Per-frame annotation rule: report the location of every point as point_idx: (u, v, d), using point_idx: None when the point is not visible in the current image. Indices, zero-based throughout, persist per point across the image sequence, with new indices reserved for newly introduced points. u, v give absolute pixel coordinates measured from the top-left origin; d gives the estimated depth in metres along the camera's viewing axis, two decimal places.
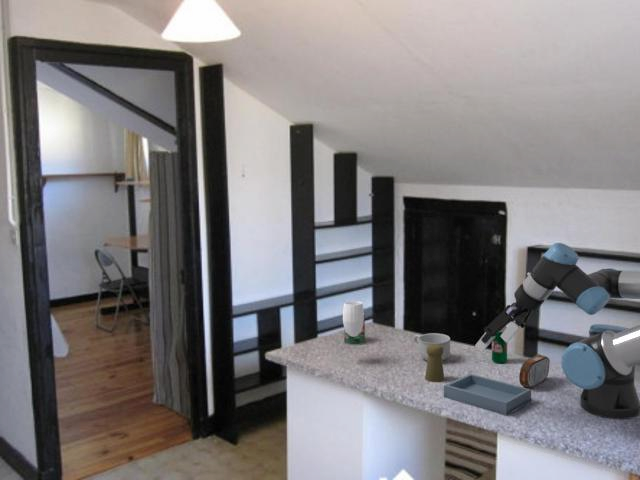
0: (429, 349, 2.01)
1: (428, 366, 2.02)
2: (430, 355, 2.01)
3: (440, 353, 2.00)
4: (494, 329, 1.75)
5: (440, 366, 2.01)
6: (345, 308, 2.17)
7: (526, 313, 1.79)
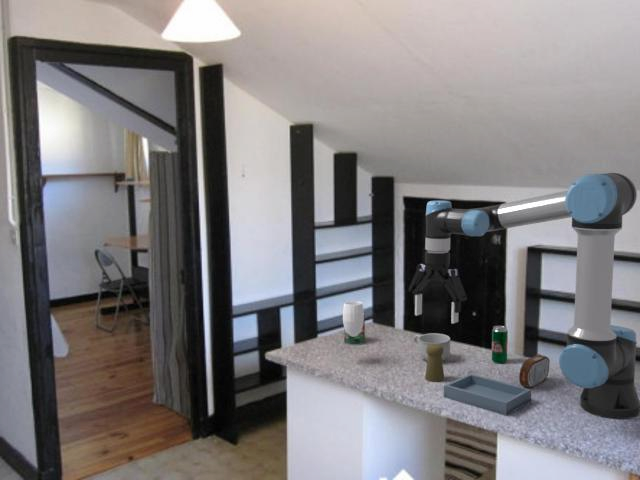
0: (429, 349, 2.01)
1: (428, 366, 2.02)
2: (430, 355, 2.01)
3: (440, 353, 2.00)
4: None
5: (440, 366, 2.01)
6: (345, 308, 2.17)
7: (436, 274, 1.97)
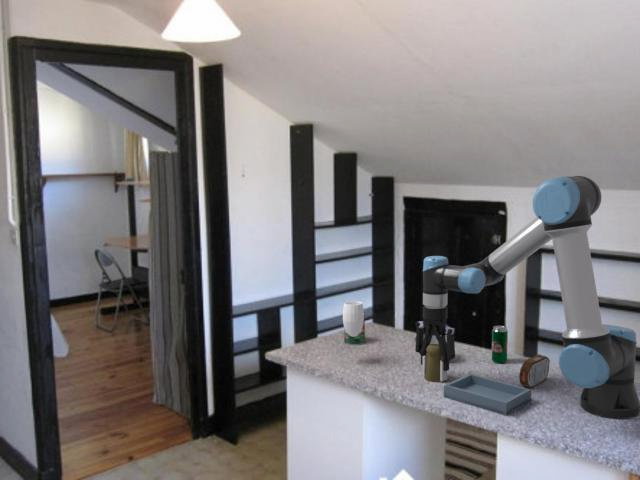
0: (429, 349, 2.01)
1: (428, 366, 2.02)
2: (430, 355, 2.01)
3: (440, 353, 2.00)
4: None
5: None
6: (345, 308, 2.17)
7: (433, 328, 1.99)
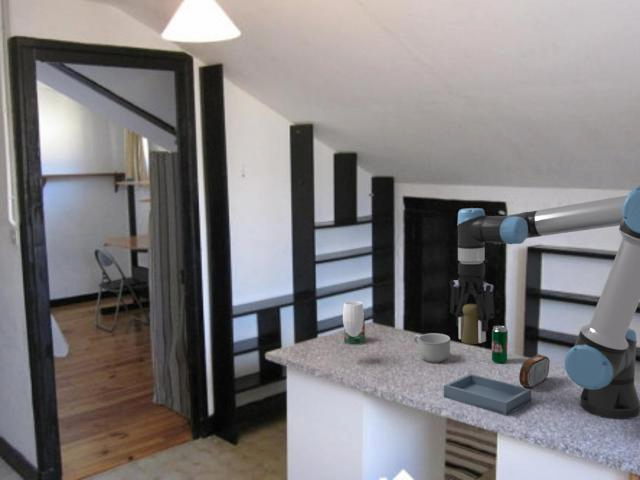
0: (466, 309, 1.86)
1: (465, 327, 1.88)
2: (467, 315, 1.87)
3: (478, 312, 1.86)
4: None
5: None
6: (345, 308, 2.17)
7: (470, 286, 1.85)
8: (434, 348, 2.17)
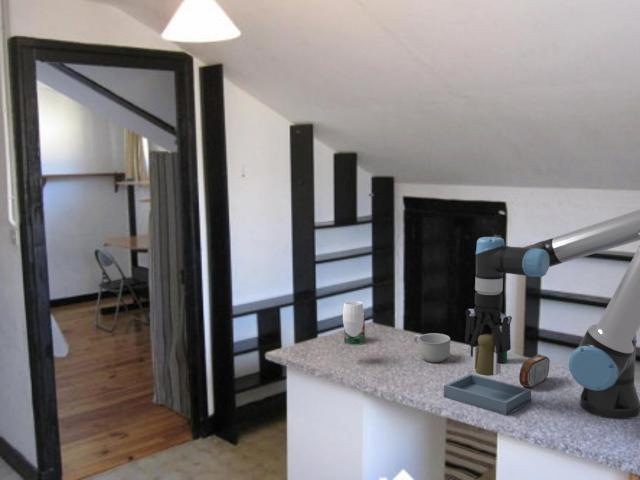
0: (482, 339, 1.82)
1: (480, 358, 1.83)
2: (482, 346, 1.82)
3: (493, 344, 1.82)
4: None
5: (493, 358, 1.82)
6: (345, 308, 2.17)
7: (487, 317, 1.81)
8: (434, 348, 2.17)
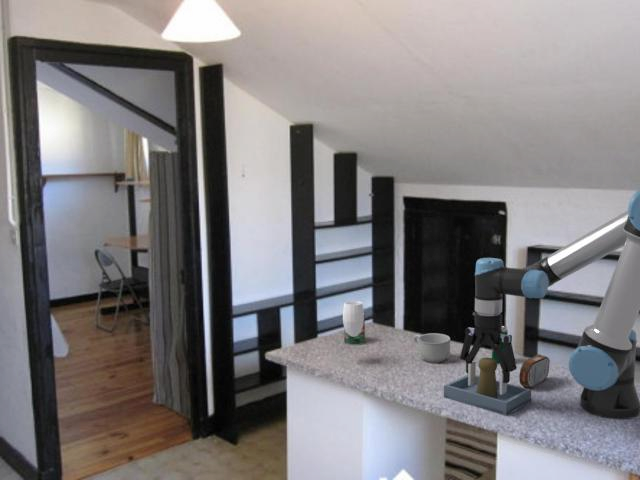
0: (482, 364, 1.83)
1: (480, 382, 1.84)
2: (483, 370, 1.83)
3: (494, 368, 1.82)
4: None
5: (494, 382, 1.83)
6: (345, 308, 2.17)
7: (487, 338, 1.81)
8: (434, 348, 2.17)
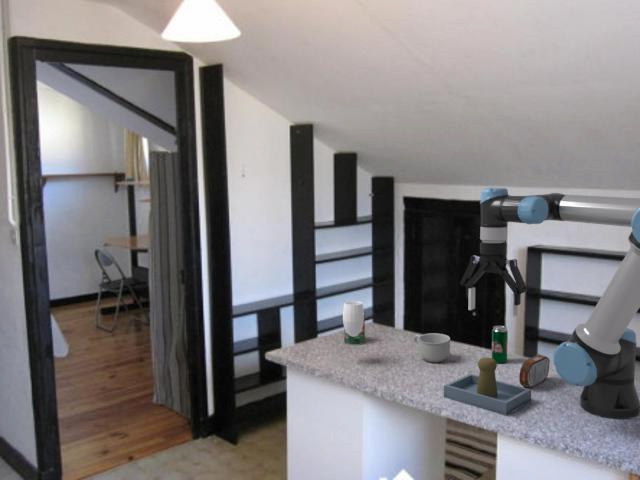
0: (482, 364, 1.83)
1: (480, 382, 1.84)
2: (482, 370, 1.83)
3: (494, 368, 1.82)
4: None
5: (493, 382, 1.83)
6: (345, 308, 2.17)
7: (493, 265, 1.86)
8: (434, 348, 2.17)
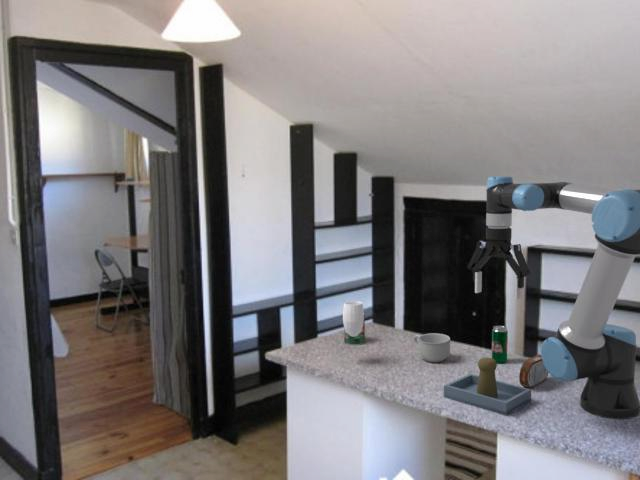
0: (482, 364, 1.83)
1: (480, 382, 1.84)
2: (482, 370, 1.83)
3: (494, 368, 1.82)
4: None
5: (493, 382, 1.83)
6: (345, 308, 2.17)
7: (498, 250, 1.95)
8: (434, 348, 2.17)
